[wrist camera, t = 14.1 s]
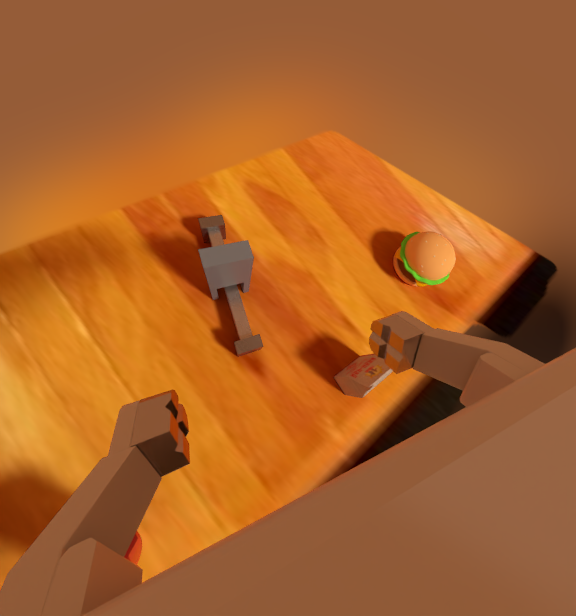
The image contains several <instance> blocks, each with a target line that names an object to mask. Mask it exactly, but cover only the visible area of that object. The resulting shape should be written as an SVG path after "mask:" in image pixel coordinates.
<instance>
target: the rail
mask: <svg viewBox="0 0 576 616" xmlns="http://www.w3.org/2000/svg"><path fill="white" fill-rule="evenodd" d="M198 219H199V224H200V228H201V232H202V236H203V239H204V243H207V242H210V243H211V247H215V246H220V245H224V242H223V239H226V232H225V223H224V220H223V217H222V215H218V216H211V217H205V218H198ZM224 291H225V294H226V297H227V301H228V304H229V308H230V311H231V314H232V318H233V321H234V324H235V328H236V331H237V335H238V338H239V341H235V342H234V346H235V349H236V353H237V356H238V357H239V356H242V355H245V354H248V353H251V352H254V351H257V350H260V349H261V348H262V347H263V344H262V340H261V337H260V334H258V335H255V336H252V333H251V329H250V326H249V323H248V320H247V316H246V313H245V310H244V307H243V303H242V300H241V297H240V294H239V291H238V287H237V284H235V285H231V286H227V287H224Z"/></svg>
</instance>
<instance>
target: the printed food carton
mask: <svg viewBox="0 0 576 616" xmlns="http://www.w3.org/2000/svg"><path fill="white" fill-rule="evenodd" d="M392 371H393V370H391V369H390V368H389V367H388V366H387V365H386V364H385V361H384V359H383V358H380V357H377V356H376V355H375V354H369V355H363V356H359V357H358V358H357V359H355V360H354V361H353V362H352V363H350V364H349V365H348V366H347V367H345V368H344V369H343V370H342V371H340V372H339V373H338V374H336V375H335V376H334V379H335V380H336V382H337V383H338V385H339V386H340V388H341V389H342V391H343V392H344V394H345V395H348V396H354V397H360V398H363V397H364V396H365V395H366V394H367V393H368V392H370V391H371V390H372V389H373V388H374V387H375V386H376V385H378V384H379V383H380V382H381V381H382V380H383V379H384V378H386V377H387V376H388V375H389V374H390V373H391V372H392Z"/></svg>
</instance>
